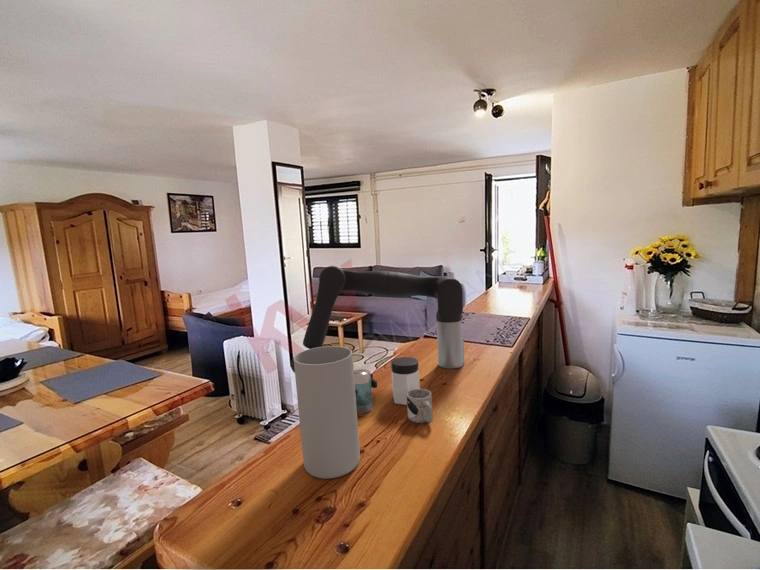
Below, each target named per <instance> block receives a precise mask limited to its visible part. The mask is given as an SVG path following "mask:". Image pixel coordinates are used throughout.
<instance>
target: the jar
mask: <svg viewBox="0 0 760 570" xmlns="http://www.w3.org/2000/svg"><path fill="white" fill-rule="evenodd" d="M390 367H391V369H390V370H391V386H392V399H393V402H394V404H396V405H397V404H398V405H403V406H407V392H408V391H410V390H413V389H421V385H420V384H421V383H420V371H419V361H418V359H417V358H414V357H411V356H402V357H396V358H393V359H391V362H390Z"/></svg>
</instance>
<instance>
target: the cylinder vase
mask: <svg viewBox="0 0 760 570" xmlns="http://www.w3.org/2000/svg"><path fill="white" fill-rule="evenodd" d="M293 357H294V368H295V373H294V378H295V379H294V380H295V386H296V387H295V388H296V397H297V398H296V399H297V407H298V408H297V409H298V417H299V419H298V420H299V431H300V439H301V440H300V441H301V449H302V451H301V452H302V460H303V466H304V469H305V471H306V472H307V473H308V474H309V475H310V476H312V477H315V478H319V479H325V480H326V479H329V480H330V479H336V478H340V477H343V476H345V475H347V474H349V473H351V472H352V471H353V470H354V469H355V468H356V467H357V466H358V465H359V462H360V459H361V451H360V439H359V438H360V437H359V436H360V435H359V423H358V413H357V409H356V395H355V382H354V371H355V370H354V359H353V351H352V350H351V349H350V348H349V347H345V346H339V345H338V346H337V345H331V346H330V345H328V346H323V347H317V348H312V349H309V348H307V349H306V350H303V351H300V352H297V354H295V355H294V356H293Z"/></svg>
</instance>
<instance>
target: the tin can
mask: <svg viewBox="0 0 760 570" xmlns="http://www.w3.org/2000/svg"><path fill="white" fill-rule="evenodd" d="M370 373H371V371H370V370H368V369H363V368H362V369H355V370H354V382H355V395H356V409H357V414H362V415H363V414H368V413H370V412H372V411H373V408H374V407H373V393H372V391H373V390H372V389H373V388H372V387H371V376H370Z"/></svg>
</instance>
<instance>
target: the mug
mask: <svg viewBox="0 0 760 570" xmlns="http://www.w3.org/2000/svg"><path fill="white" fill-rule="evenodd" d="M432 400H433V399H432V391H430V390H429V389H425V388H420V389H413V390H410V391H408V392H407V405H406V407H407V408H406V409H407V419H408V420H409V421H410V422H413V423H417V424H419V423H420V424H422V423H429V424H431V423H432V422H433V420H434V415H433V405H432V404H433V402H432Z"/></svg>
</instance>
